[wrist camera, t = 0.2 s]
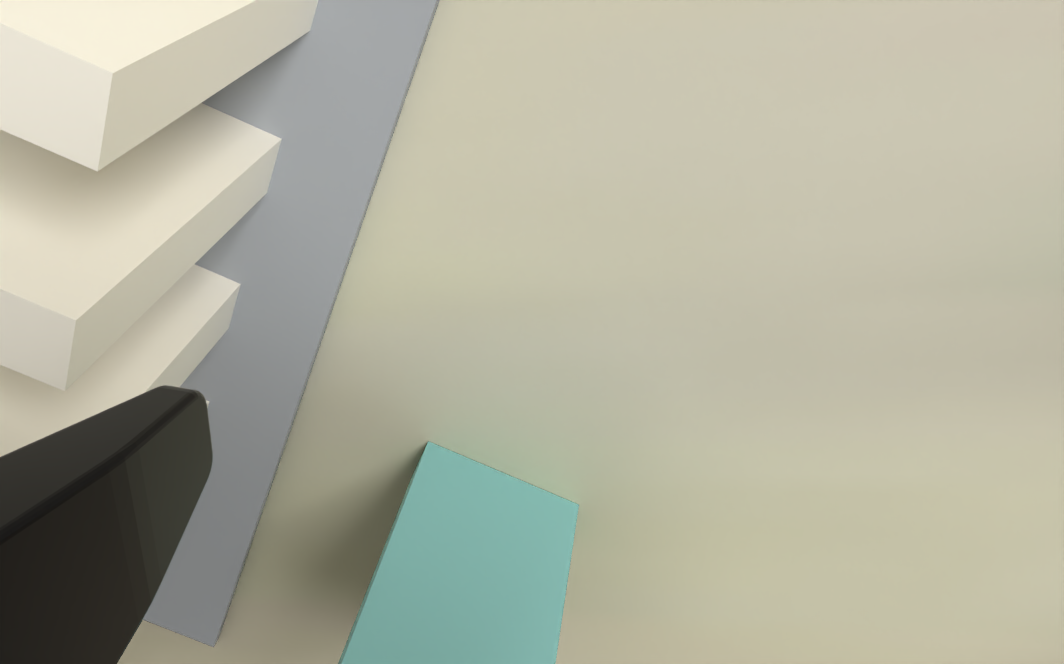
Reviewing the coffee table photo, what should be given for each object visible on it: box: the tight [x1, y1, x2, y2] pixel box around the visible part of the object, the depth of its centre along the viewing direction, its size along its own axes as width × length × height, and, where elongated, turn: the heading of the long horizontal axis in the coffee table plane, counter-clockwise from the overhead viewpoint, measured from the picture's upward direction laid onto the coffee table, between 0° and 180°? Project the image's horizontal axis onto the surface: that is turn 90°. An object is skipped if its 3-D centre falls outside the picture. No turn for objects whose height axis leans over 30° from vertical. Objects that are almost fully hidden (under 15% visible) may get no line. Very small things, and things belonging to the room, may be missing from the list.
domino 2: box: [0, 103, 282, 391], centre depth 19 cm, size 2×5×9 cm, turn 67°
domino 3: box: [0, 264, 241, 457], centre depth 21 cm, size 2×5×9 cm, turn 67°
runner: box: [143, 0, 439, 647], centre depth 26 cm, size 26×10×1 cm, turn 157°
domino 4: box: [338, 441, 579, 664], centre depth 24 cm, size 2×5×9 cm, turn 67°
